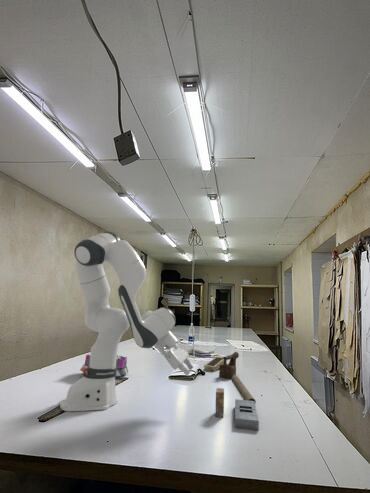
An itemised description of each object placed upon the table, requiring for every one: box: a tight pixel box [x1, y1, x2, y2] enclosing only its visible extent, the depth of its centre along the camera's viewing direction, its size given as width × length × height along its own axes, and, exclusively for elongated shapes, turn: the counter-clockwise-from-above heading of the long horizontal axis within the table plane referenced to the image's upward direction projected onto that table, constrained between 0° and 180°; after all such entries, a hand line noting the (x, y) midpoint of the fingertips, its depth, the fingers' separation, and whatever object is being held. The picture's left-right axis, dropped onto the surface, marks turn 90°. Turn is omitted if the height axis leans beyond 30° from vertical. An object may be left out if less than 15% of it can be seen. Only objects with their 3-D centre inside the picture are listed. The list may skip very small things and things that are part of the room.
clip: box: [214, 387, 225, 419], centre depth 117 cm, size 3×6×9 cm, turn 171°
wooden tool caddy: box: [218, 351, 240, 380], centre depth 181 cm, size 8×16×13 cm, turn 143°
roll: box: [231, 374, 257, 404], centre depth 151 cm, size 4×43×3 cm, turn 1°
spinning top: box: [79, 354, 129, 377], centre depth 170 cm, size 27×28×15 cm
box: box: [203, 356, 224, 373], centre depth 198 cm, size 8×22×5 cm, turn 151°
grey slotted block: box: [234, 399, 260, 431], centre depth 115 cm, size 8×22×3 cm, turn 171°
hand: (190, 371), depth 121 cm, fingers open, 8 cm apart
